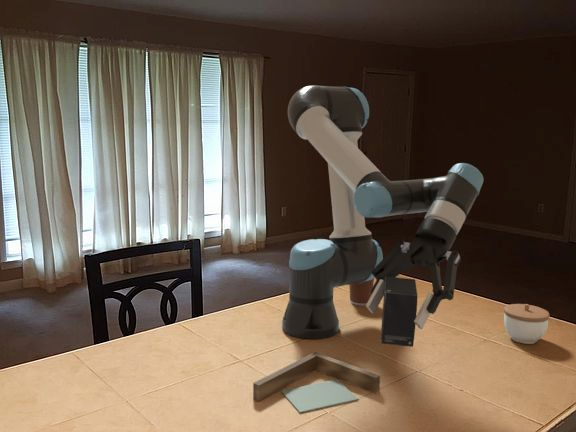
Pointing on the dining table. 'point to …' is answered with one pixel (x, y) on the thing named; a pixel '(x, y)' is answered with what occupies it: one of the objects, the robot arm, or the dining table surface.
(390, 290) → the small box
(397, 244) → the robot arm
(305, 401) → the pad
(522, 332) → the lidded jar
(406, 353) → the dining table surface
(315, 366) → the walnut corner fence
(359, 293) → the coffee cup
